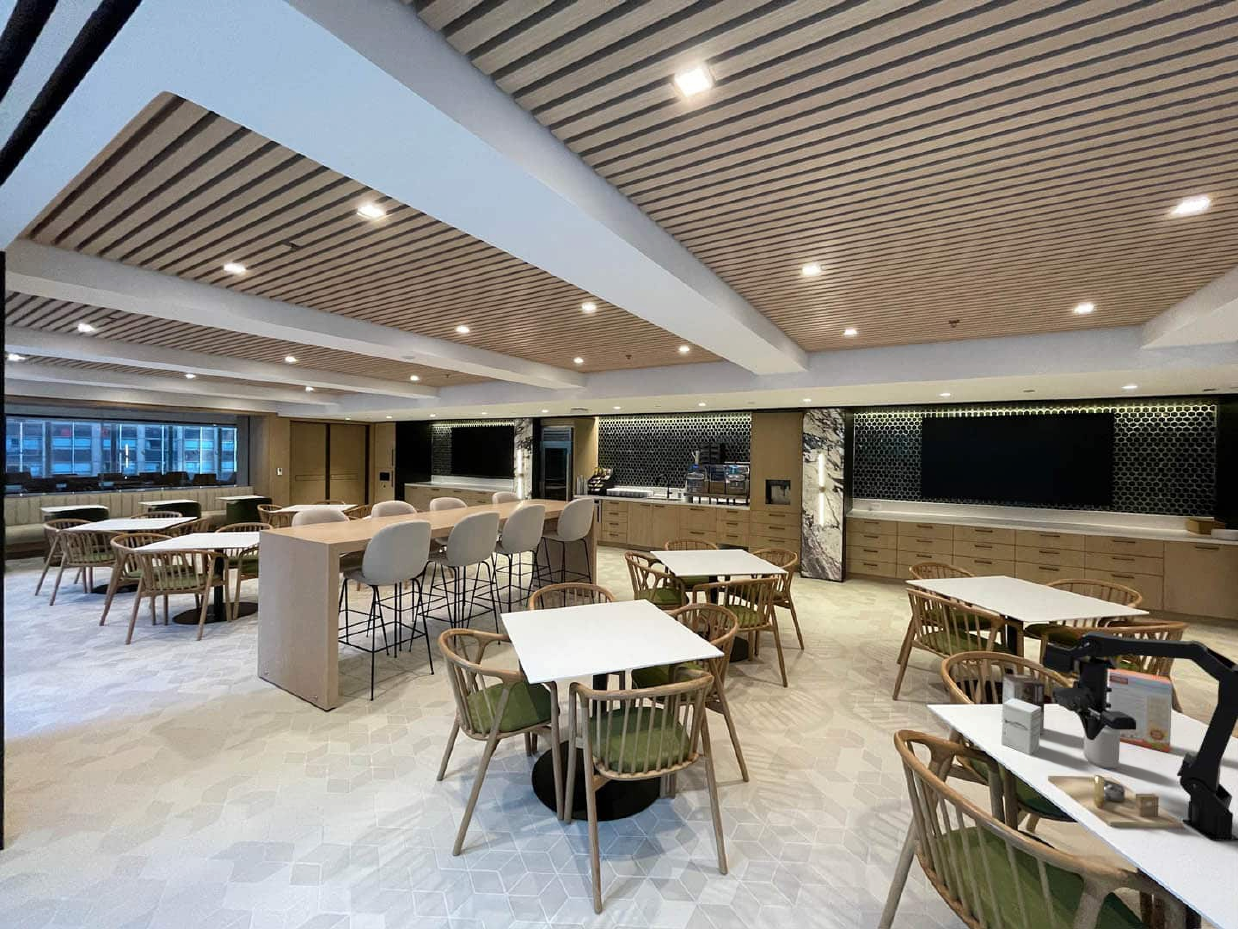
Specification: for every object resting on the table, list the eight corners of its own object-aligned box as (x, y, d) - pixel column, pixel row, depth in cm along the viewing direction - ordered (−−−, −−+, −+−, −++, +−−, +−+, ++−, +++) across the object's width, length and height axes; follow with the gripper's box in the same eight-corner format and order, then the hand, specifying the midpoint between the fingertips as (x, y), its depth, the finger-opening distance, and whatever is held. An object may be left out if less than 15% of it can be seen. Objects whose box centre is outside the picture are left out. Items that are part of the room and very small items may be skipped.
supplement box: (1000, 744, 162) (1002, 702, 162) (1011, 737, 166) (1012, 696, 166) (1029, 756, 156) (1031, 712, 156) (1040, 748, 160) (1041, 706, 160)
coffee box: (1031, 725, 175) (1033, 675, 175) (1044, 735, 168) (1046, 683, 168) (1000, 722, 176) (1002, 672, 176) (1012, 732, 170) (1014, 681, 170)
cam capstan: (1102, 788, 139) (1103, 761, 139) (1127, 799, 134) (1129, 771, 134) (1084, 801, 133) (1085, 773, 133) (1110, 813, 129) (1111, 783, 129)
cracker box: (1166, 745, 164) (1169, 677, 164) (1170, 754, 159) (1173, 683, 159) (1104, 730, 172) (1107, 665, 172) (1106, 738, 168) (1109, 671, 167)
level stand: (1182, 828, 126) (1183, 802, 126) (1110, 826, 126) (1111, 801, 126) (1110, 781, 144) (1111, 759, 144) (1047, 780, 144) (1048, 758, 144)
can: (1125, 772, 149) (1127, 729, 149) (1094, 768, 151) (1095, 725, 150) (1106, 757, 156) (1108, 716, 156) (1077, 754, 158) (1078, 713, 158)
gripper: (1034, 666, 151) (1032, 722, 152) (1096, 696, 133) (1093, 759, 133) (1072, 667, 152) (1070, 722, 152) (1139, 696, 133) (1137, 759, 133)
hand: (1090, 739), depth 143 cm, fingers closed
